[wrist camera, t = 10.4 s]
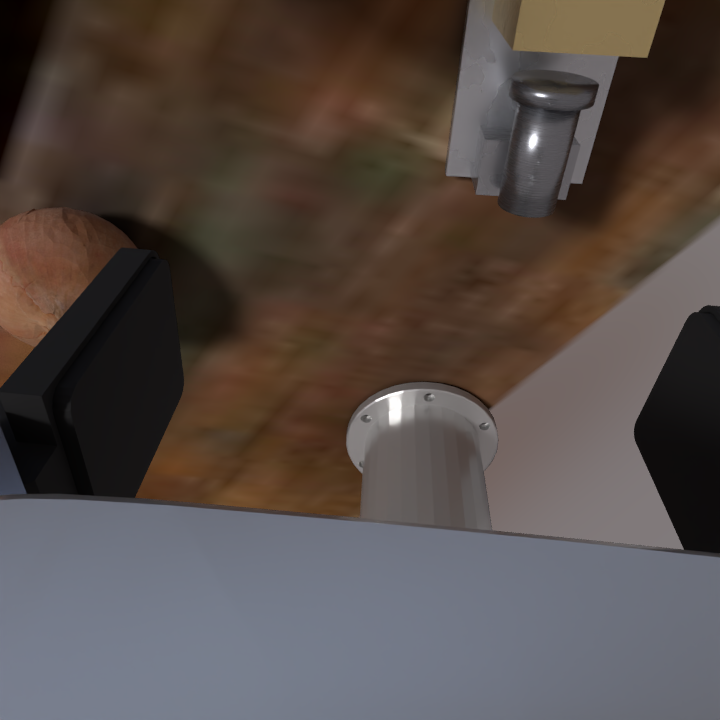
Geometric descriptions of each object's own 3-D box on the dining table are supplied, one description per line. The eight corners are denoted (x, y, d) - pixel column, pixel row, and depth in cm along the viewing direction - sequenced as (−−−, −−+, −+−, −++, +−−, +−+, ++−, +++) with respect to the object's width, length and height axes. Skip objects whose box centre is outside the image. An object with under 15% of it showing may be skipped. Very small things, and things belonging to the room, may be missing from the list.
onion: (165, 240, 43) (192, 335, 37) (66, 310, 44) (76, 413, 38) (59, 144, 35) (70, 244, 29) (-57, 231, 37) (-68, 344, 31)
